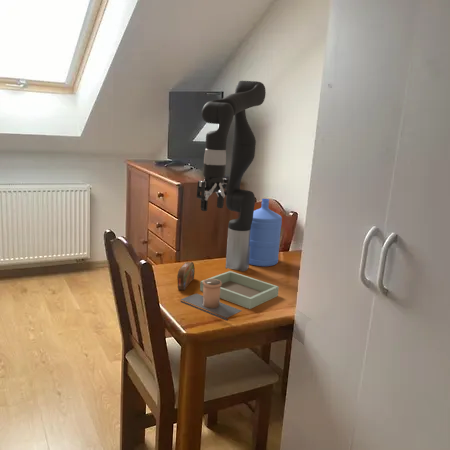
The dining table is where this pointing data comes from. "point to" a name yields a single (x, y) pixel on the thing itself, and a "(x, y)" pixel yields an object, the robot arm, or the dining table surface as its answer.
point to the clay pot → (211, 293)
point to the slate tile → (221, 310)
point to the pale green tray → (244, 289)
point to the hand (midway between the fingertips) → (212, 209)
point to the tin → (185, 275)
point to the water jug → (265, 236)
